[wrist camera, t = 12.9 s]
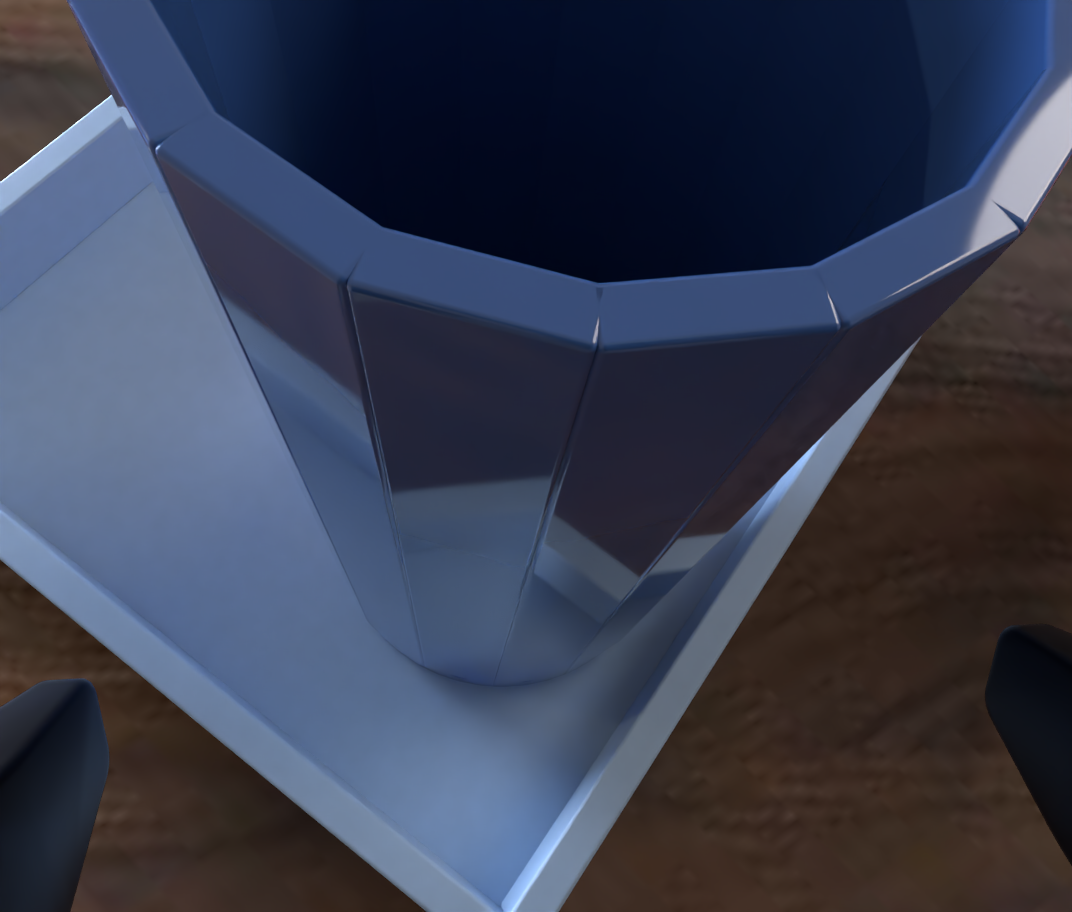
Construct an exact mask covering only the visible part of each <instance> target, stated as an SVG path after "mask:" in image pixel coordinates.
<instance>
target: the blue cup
mask: <svg viewBox="0 0 1072 912" xmlns="http://www.w3.org/2000/svg"><path fill="white" fill-rule="evenodd" d="M67 3H68V5H69V7H70V9H71V11H72V13H73V15H74V17H75V19H76V21H77V23H78V25H79V28H80V30H81V32H82V34H83V36H84V38H85V40H86V42H87V44H88V46H89V48H90V50H91V53H92V55H93V57H94V59H95V61H96V63H97V65H98V67H99V69H100V71H101V73H102V76H103V78H104V80H105V82H106V84H107V86H108V88H109V90H110V92H111V94H112V96H113V98H114V101H115V103H116V105H117V107H118V109H119V111H120V113H121V115H122V117H123V119H124V121H125V123H126V126H127V128H128V130H129V132H130V134H131V136H132V138H133V140H134V142H135V144H136V146H137V149H138V151H139V153H140V155H141V157H142V159H143V161H144V163H145V165H146V167H147V169H148V171H149V174H150V176H151V178H152V180H153V182H154V184H155V186H156V188H157V190H158V192H159V194H160V196H161V199H162V201H163V203H164V205H165V207H166V209H167V211H168V213H169V215H170V217H171V219H172V222H173V224H174V226H175V228H176V230H177V232H178V234H179V236H180V238H181V240H182V242H183V244H184V247H185V249H186V251H187V253H188V255H189V257H190V259H191V261H192V263H193V265H194V267H195V270H196V272H197V274H198V276H199V278H200V280H201V282H202V284H203V286H204V288H205V290H206V292H207V295H208V297H209V299H210V301H211V303H212V305H213V307H214V309H215V311H216V313H217V315H218V317H219V320H220V322H221V324H222V326H223V328H224V330H225V332H226V334H227V336H228V338H229V340H230V343H231V345H232V347H233V349H234V351H235V353H236V355H237V357H238V359H239V361H240V363H241V365H242V368H243V370H244V372H245V374H246V376H247V378H248V380H249V382H250V384H251V386H252V388H253V390H254V393H255V395H256V397H257V399H258V401H259V403H260V405H261V407H262V409H263V411H264V413H265V416H266V418H267V420H268V422H269V424H270V426H271V428H272V430H273V432H274V434H275V436H276V438H277V441H278V443H279V445H280V447H281V449H282V451H283V453H284V455H285V457H286V459H287V461H288V464H289V466H290V468H291V470H292V472H293V474H294V476H295V478H296V480H297V482H298V484H299V486H300V489H301V491H302V493H303V495H304V497H305V499H306V501H307V503H308V505H309V507H310V509H311V511H312V514H313V516H314V518H315V520H316V522H317V524H318V526H319V528H320V530H321V532H322V534H323V537H324V539H325V541H326V543H327V545H328V547H329V549H330V551H331V553H332V555H333V557H334V559H335V562H336V564H337V566H338V568H339V570H340V571H341V573H342V575H343V577H344V579H345V581H346V583H347V585H348V586H349V588H350V590H351V592H352V594H353V596H354V598H355V600H356V602H357V604H358V605H359V607H360V609H361V611H362V613H363V614H364V616H365V618H366V620H367V622H368V623H370V625H371V626H372V627H373V628H374V629H376V630H377V631H378V633H379V634H380V635H381V636H382V637H383V638H384V639H385V640H386V641H387V642H388V643H390V644H391V645H392V646H393V647H394V648H395V649H396V650H397V651H398V652H400V653H401V654H403V655H404V656H406V657H407V658H409V659H410V660H412V661H413V662H415V663H416V664H418V665H420V666H422V667H424V668H426V669H428V670H430V671H432V672H434V673H436V674H438V675H441V676H444V677H447V678H450V679H453V680H456V681H459V682H465V683H470V684H475V685H480V686H495V687H510V686H523V685H530V684H534V683H539V682H544V681H548V680H551V679H554V678H556V677H559V676H562V675H566V674H568V673H570V672H572V671H574V670H576V669H578V668H579V667H581V666H583V665H585V664H587V663H589V662H590V661H592V660H593V659H595V658H596V657H597V656H599V655H600V654H602V653H603V652H604V651H606V650H607V649H608V648H610V647H611V646H613V645H615V644H616V643H618V642H620V641H621V640H622V639H623V638H624V637H625V636H626V635H627V634H628V633H629V632H630V631H631V630H632V629H633V628H634V627H635V626H636V625H637V624H638V623H639V622H640V621H641V620H642V619H643V618H644V617H645V616H646V615H647V614H648V613H649V612H650V611H651V610H652V608H653V607H654V606H655V605H656V604H657V603H658V602H659V601H660V600H661V599H662V598H663V597H664V596H665V595H666V594H667V593H668V592H669V591H670V590H671V589H672V588H673V587H674V586H675V585H676V584H677V583H678V582H679V581H680V580H681V579H682V578H683V577H684V576H685V575H686V574H687V573H688V572H689V571H690V570H691V569H692V568H693V567H694V566H695V565H696V564H697V563H698V562H699V561H700V560H701V559H702V558H703V557H704V556H705V555H706V554H707V553H708V552H709V551H710V550H711V549H712V548H713V547H714V546H715V545H716V544H717V543H718V542H719V541H720V540H721V539H722V537H723V536H724V535H725V534H726V533H727V532H728V531H729V530H730V529H731V528H732V527H733V526H734V525H735V524H736V523H737V522H738V521H739V520H740V519H741V518H742V517H743V516H744V515H745V514H746V513H747V512H748V511H749V510H750V509H751V508H752V507H753V506H754V505H755V504H756V503H757V502H758V501H759V500H760V499H761V498H762V497H763V496H764V495H765V494H766V493H767V492H768V491H769V490H770V489H771V488H772V487H773V486H774V485H775V484H776V483H777V482H778V481H779V480H780V479H781V478H782V477H783V476H784V475H785V474H786V473H787V472H788V471H789V470H790V469H791V467H792V466H793V465H794V464H795V463H796V462H797V461H798V460H799V459H800V458H801V457H802V456H803V455H804V454H805V453H806V452H807V451H808V450H809V449H810V448H811V447H812V446H813V445H814V444H815V443H816V442H817V441H818V440H819V439H820V438H821V437H822V436H823V435H824V434H825V433H826V432H827V431H828V430H829V429H830V428H831V427H832V426H833V425H834V424H835V423H836V422H837V421H838V420H839V419H840V418H841V417H842V416H843V415H844V414H845V413H846V412H847V411H848V410H849V409H850V408H851V407H852V406H853V405H854V404H855V403H856V402H857V401H858V400H859V399H860V398H861V396H862V395H863V394H864V393H865V392H866V391H867V390H868V389H869V388H870V387H871V386H872V385H873V384H874V383H875V382H876V381H877V380H878V379H879V378H880V377H881V376H882V375H883V374H884V373H885V372H886V371H887V370H888V369H889V368H890V367H891V366H892V365H893V364H894V363H895V362H896V361H897V360H898V359H899V358H900V357H901V356H902V355H903V354H904V353H905V352H906V351H907V350H908V349H909V348H910V347H911V346H912V345H913V344H914V343H915V342H916V341H917V340H918V339H919V338H920V337H921V336H922V335H923V334H924V333H925V332H926V331H927V330H928V329H929V328H930V327H931V325H932V324H933V323H934V322H935V321H936V320H937V319H938V318H939V317H940V316H941V315H942V314H943V313H944V312H945V311H946V310H947V309H948V308H949V307H950V306H951V305H952V304H953V303H954V302H955V301H956V300H957V299H958V298H959V297H960V296H961V295H962V294H963V293H964V292H965V291H966V290H967V289H968V288H969V287H970V286H971V285H972V284H973V283H974V282H975V281H976V280H977V279H978V278H979V277H980V276H981V275H982V274H983V273H984V272H985V271H986V270H987V269H988V268H989V267H990V266H991V265H992V264H993V263H994V262H995V261H996V260H997V259H998V258H999V257H1000V256H1001V254H1002V253H1003V252H1004V251H1005V250H1006V249H1007V248H1008V247H1009V246H1010V245H1011V244H1012V243H1013V242H1014V241H1015V240H1016V239H1017V238H1018V237H1019V236H1020V235H1021V234H1022V233H1023V232H1024V231H1025V230H1026V229H1027V227H1028V226H1029V224H1030V222H1031V221H1032V219H1033V218H1034V216H1035V214H1036V213H1037V211H1038V210H1039V208H1040V206H1041V205H1042V203H1043V202H1044V200H1045V198H1046V197H1047V195H1048V194H1049V192H1050V190H1051V189H1052V187H1053V186H1054V184H1055V182H1056V181H1057V179H1058V178H1059V176H1060V174H1061V173H1062V171H1063V170H1064V168H1065V166H1066V165H1067V163H1068V161H1069V160H1070V158H1071V157H1072V0H67Z"/></svg>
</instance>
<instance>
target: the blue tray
mask: <svg viewBox="0 0 1072 912" xmlns="http://www.w3.org/2000/svg"><path fill="white" fill-rule="evenodd" d="M920 338H921V337H920ZM920 338H919V339H920ZM919 339H918V340H917V341H916V342H915V343H914V344H913V345H912V346H911V347H910V348H909V349H908V350H907V351H906V352H905V353H904V354H903V355H902V356H901V357H900V358H899V359H898V360H897V361H896V362H895V363H894V364H893V365H892V366H891V367H890V368H889V369H888V370H887V371H886V372H885V373H884V374H883V375H882V376H881V377H880V378H879V379H878V380H877V381H876V382H875V383H874V384H873V385H872V386H871V387H870V388H869V389H868V390H867V391H866V392H865V393H864V394H863V395H862V396H861V398H860V399H859V400H858V401H857V402H856V403H855V404H854V405H853V406H852V407H851V408H850V409H849V410H848V411H847V412H846V413H845V414H844V415H843V416H842V417H841V418H840V419H839V420H838V421H837V422H836V423H835V424H834V425H833V426H832V427H831V428H830V429H829V430H828V431H827V432H826V433H825V434H824V435H823V436H822V437H821V438H820V439H819V440H818V441H817V442H816V443H815V444H814V445H813V446H812V447H811V448H810V449H809V450H808V451H807V452H806V453H805V454H804V455H803V456H802V457H801V458H800V459H799V460H798V461H797V462H796V463H795V464H794V465H793V466H792V467H791V469H790V470H789V471H788V472H787V473H786V474H785V475H784V476H783V477H782V478H781V479H780V480H779V481H778V482H777V483H776V484H775V485H774V486H773V487H772V488H771V489H770V490H769V491H768V492H767V493H766V494H765V495H764V496H763V497H762V498H761V499H760V500H759V501H758V502H757V503H756V504H755V505H754V506H753V507H752V508H751V509H750V510H749V511H748V512H747V513H746V514H745V515H744V516H743V517H742V518H741V519H740V520H739V521H738V522H737V523H736V524H735V525H734V526H733V527H732V528H731V529H730V530H729V531H728V532H727V533H726V534H725V535H724V536H723V537H722V539H721V540H720V541H719V542H718V543H717V544H716V545H715V546H714V547H713V548H712V549H711V550H710V551H709V552H708V553H707V554H706V555H705V556H704V557H703V558H702V559H701V560H700V561H699V562H698V563H697V564H696V565H695V566H694V567H693V568H692V569H691V570H690V571H689V572H688V573H687V574H686V575H685V576H684V577H683V578H682V579H681V580H680V581H679V582H678V583H677V584H676V585H675V586H674V587H673V588H672V589H671V590H670V591H669V592H668V593H667V594H666V595H665V596H664V597H663V598H662V599H661V600H660V601H659V602H658V603H657V604H656V605H655V606H654V607H653V608H652V610H651V611H650V612H649V613H648V614H647V615H646V616H645V617H644V618H643V619H642V620H641V621H640V622H639V623H638V624H637V625H636V626H635V627H634V628H633V629H632V630H631V631H630V632H629V633H628V634H627V635H626V636H625V637H624V638H623V639H622V640H621V641H620V642H618V643H616V644H615V645H613V646H611V647H610V648H608V649H607V650H606V651H604V652H603V653H602V654H600V655H599V656H597V657H596V658H595V659H593V660H592V661H590V662H589V663H587V664H585V665H583V666H581V667H579V668H578V669H576V670H574V671H572V672H570V673H568V674H566V675H562V676H559V677H556V678H554V679H551V680H548V681H544V682H539V683H534V684H530V685H523V686H510V687H495V686H480V685H475V684H470V683H465V682H459V681H456V680H453V679H450V678H447V677H444V676H441V675H438V674H436V673H434V672H432V671H430V670H428V669H426V668H424V667H422V666H420V665H418V664H416V663H415V662H413V661H412V660H410V659H409V658H407V657H406V656H404V655H403V654H401V653H400V652H398V651H397V650H396V649H395V648H394V647H393V646H392V645H391V644H390V643H388V642H387V641H386V640H385V639H384V638H383V637H382V636H381V635H380V634H379V633H378V631H377V630H376V629H374V628H373V627H372V626H371V625H370V623H368V622H367V620H366V618H365V616H364V614H363V613H362V611H361V609H360V607H359V605H358V604H357V602H356V600H355V598H354V596H353V594H352V592H351V590H350V588H349V586H348V585H347V583H346V581H345V579H344V577H343V575H342V573H341V571H340V570H339V568H338V566H337V564H336V562H335V559H334V557H333V555H332V553H331V551H330V549H329V547H328V545H327V543H326V541H325V539H324V537H323V534H322V532H321V530H320V528H319V526H318V524H317V522H316V520H315V518H314V516H313V514H312V511H311V509H310V507H309V505H308V503H307V501H306V499H305V497H304V495H303V493H302V491H301V489H300V486H299V484H298V482H297V480H296V478H295V476H294V474H293V472H292V470H291V468H290V466H289V464H288V461H287V459H286V457H285V455H284V453H283V451H282V449H281V447H280V445H279V443H278V441H277V438H276V436H275V434H274V432H273V430H272V428H271V426H270V424H269V422H268V420H267V418H266V416H265V413H264V411H263V409H262V407H261V405H260V403H259V401H258V399H257V397H256V395H255V393H254V390H253V388H252V386H251V384H250V382H249V380H248V378H247V376H246V374H245V372H244V370H243V368H242V365H241V363H240V361H239V359H238V357H237V355H236V353H235V351H234V349H233V347H232V345H231V343H230V340H229V338H228V336H227V334H226V332H225V330H224V328H223V326H222V324H221V322H220V320H219V317H218V315H217V313H216V311H215V309H214V307H213V305H212V303H211V301H210V299H209V297H208V295H207V292H206V290H205V288H204V286H203V284H202V282H201V280H200V278H199V276H198V274H197V272H196V270H195V267H194V265H193V263H192V261H191V259H190V257H189V255H188V253H187V251H186V249H185V247H184V244H183V242H182V240H181V238H180V236H179V234H178V232H177V230H176V228H175V226H174V224H173V222H172V219H171V217H170V215H169V213H168V211H167V209H166V207H165V205H164V203H163V201H162V199H161V196H160V194H159V192H158V190H157V188H156V186H155V184H154V182H153V180H152V178H151V176H150V174H149V171H148V169H147V167H146V165H145V163H144V161H143V159H142V157H141V155H140V153H139V151H138V149H137V146H136V144H135V142H134V140H133V138H132V136H131V134H130V132H129V130H128V128H127V126H126V123H125V121H124V119H123V117H122V115H121V113H120V111H119V109H118V107H117V105H116V103H115V101H114V98H113V96H112V95H111V96H110V97H109V98H107V99H106V100H105V101H104V102H102V103H101V104H100V105H98V106H97V107H96V108H95V109H93V110H92V111H91V112H90V113H88V114H87V115H86V116H84V117H83V118H82V119H81V120H79V121H78V122H77V123H76V124H74V125H73V126H72V127H70V128H69V129H68V130H67V131H65V132H64V133H63V134H61V135H60V136H59V137H58V138H56V139H55V140H54V141H53V142H51V143H50V144H49V145H47V146H46V147H45V148H44V149H42V150H41V151H40V152H39V153H37V154H36V155H35V156H33V157H32V158H31V159H30V160H28V161H27V162H26V163H24V164H23V165H22V166H21V167H19V168H18V169H17V170H16V171H14V172H13V173H12V174H10V175H9V176H8V177H7V178H5V179H4V180H3V181H2V182H0V560H1V561H2V562H4V563H5V564H6V565H7V566H8V567H10V568H11V569H12V570H13V571H14V572H16V573H17V574H18V575H19V576H20V577H22V578H23V579H24V580H25V581H27V582H28V583H29V584H30V585H31V586H33V587H34V588H35V589H36V590H37V591H39V592H40V593H41V594H42V595H43V596H45V597H46V598H47V599H48V600H50V601H51V602H52V603H53V604H54V605H56V606H57V607H58V608H59V609H60V610H62V611H63V612H64V613H65V614H67V615H68V616H69V617H70V618H71V619H73V620H74V621H75V622H76V623H77V624H79V625H80V626H81V627H82V628H83V629H85V630H86V631H87V632H88V633H90V634H91V635H92V636H93V637H94V638H96V639H97V640H98V641H99V642H100V643H102V644H103V645H104V646H105V647H106V648H108V649H109V650H110V651H111V652H113V653H114V654H115V655H116V656H117V657H119V658H120V659H121V660H122V661H123V662H125V663H126V664H127V665H128V666H130V667H131V668H132V669H133V670H134V671H136V672H137V673H138V674H139V675H140V676H142V677H143V678H144V679H145V680H146V681H148V682H149V683H150V684H151V685H153V686H154V687H155V688H156V689H157V690H159V691H160V692H161V693H162V694H163V695H165V696H166V697H167V698H168V699H169V700H171V701H172V702H173V703H174V704H176V705H177V706H178V707H179V708H180V709H182V710H183V711H184V712H185V713H186V714H188V715H189V716H190V717H191V718H192V719H194V720H195V721H196V722H197V723H199V724H200V725H201V726H202V727H203V728H205V729H206V730H207V731H208V732H209V733H211V734H212V735H213V736H214V737H216V738H217V739H218V740H219V741H220V742H222V743H223V744H224V745H225V746H226V747H228V748H229V749H230V750H231V751H232V752H234V753H235V754H236V755H237V756H239V757H240V758H241V759H242V760H243V761H245V762H246V763H247V764H248V765H249V766H251V767H252V768H253V769H254V770H255V771H257V772H258V773H259V774H260V775H262V776H263V777H264V778H265V779H266V780H268V781H269V782H270V783H271V784H272V785H274V786H275V787H276V788H277V789H279V790H280V791H281V792H282V793H283V794H285V795H286V796H287V797H288V798H289V799H291V800H292V801H293V802H294V803H295V804H297V805H298V806H299V807H300V808H302V809H303V810H304V811H305V812H306V813H308V814H309V815H310V816H311V817H312V818H314V819H315V820H316V821H317V822H318V823H320V824H321V825H322V826H323V827H325V828H326V829H327V830H328V831H329V832H331V833H332V834H333V835H334V836H335V837H337V838H338V839H339V840H340V841H341V842H343V843H344V844H345V845H346V846H348V847H349V848H350V849H351V850H352V851H354V852H355V853H356V854H357V855H358V856H360V857H361V858H362V859H363V860H365V861H366V862H367V863H368V864H369V865H371V866H372V867H373V868H374V869H375V870H377V871H378V872H379V873H380V874H381V875H383V876H384V877H385V878H386V879H388V880H389V881H390V882H391V883H392V884H394V885H395V886H396V887H397V888H398V889H400V890H401V891H402V892H403V893H404V894H406V895H407V896H408V897H409V898H411V899H412V900H413V901H414V902H415V903H417V904H418V905H419V906H420V907H421V908H423V909H424V910H425V911H426V912H559V911H560V909H561V907H562V906H563V904H564V903H565V901H566V899H567V898H568V896H569V895H570V893H571V891H572V890H573V888H574V887H575V885H576V884H577V882H578V880H579V879H580V877H581V876H582V874H583V872H584V871H585V869H586V868H587V866H588V865H589V863H590V861H591V860H592V858H593V857H594V855H595V853H596V852H597V850H598V849H599V847H600V845H601V844H602V842H603V841H604V839H605V838H606V836H607V834H608V833H609V831H610V830H611V828H612V826H613V825H614V823H615V822H616V820H617V819H618V817H619V815H620V814H621V812H622V811H623V809H624V807H625V806H626V804H627V803H628V801H629V799H630V798H631V796H632V795H633V793H634V792H635V790H636V788H637V787H638V785H639V784H640V782H641V780H642V779H643V777H644V776H645V774H646V772H647V771H648V769H649V768H650V766H651V765H652V763H653V761H654V760H655V758H656V757H657V755H658V753H659V752H660V750H661V749H662V747H663V746H664V744H665V742H666V741H667V739H668V738H669V736H670V734H671V733H672V731H673V730H674V728H675V726H676V725H677V723H678V722H679V720H680V719H681V717H682V715H683V714H684V712H685V711H686V709H687V707H688V706H689V704H690V703H691V701H692V700H693V698H694V696H695V695H696V693H697V692H698V690H699V688H700V687H701V685H702V684H703V682H704V680H705V679H706V677H707V676H708V674H709V673H710V671H711V669H712V668H713V666H714V665H715V663H716V661H717V660H718V658H719V657H720V655H721V654H722V652H723V650H724V649H725V647H726V646H727V644H728V642H729V641H730V639H731V638H732V636H733V634H734V633H735V631H736V630H737V628H738V627H739V625H740V623H741V622H742V620H743V619H744V617H745V615H746V614H747V612H748V611H749V609H750V607H751V606H752V604H753V603H754V601H755V600H756V598H757V596H758V595H759V593H760V592H761V590H762V588H763V587H764V585H765V584H766V582H767V581H768V579H769V577H770V576H771V574H772V573H773V571H774V569H775V568H776V566H777V565H778V563H779V561H780V560H781V558H782V557H783V555H784V554H785V552H786V550H787V549H788V547H789V546H790V544H791V542H792V541H793V539H794V538H795V536H796V535H797V533H798V531H799V530H800V528H801V527H802V525H803V523H804V522H805V520H806V519H807V517H808V515H809V514H810V512H811V511H812V509H813V508H814V506H815V504H816V503H817V501H818V500H819V498H820V496H821V495H822V493H823V492H824V490H825V489H826V487H827V485H828V484H829V482H830V481H831V479H832V477H833V476H834V474H835V473H836V471H837V469H838V468H839V466H840V465H841V463H842V462H843V460H844V458H845V457H846V455H847V454H848V452H849V450H850V449H851V447H852V446H853V444H854V443H855V441H856V439H857V438H858V436H859V435H860V433H861V431H862V430H863V428H864V427H865V425H866V423H867V422H868V420H869V419H870V417H871V416H872V414H873V412H874V411H875V409H876V408H877V406H878V404H879V403H880V401H881V400H882V398H883V396H884V395H885V393H886V392H887V390H888V389H889V387H890V385H891V384H892V382H893V381H894V379H895V377H896V376H897V374H898V373H899V371H900V370H901V368H902V366H903V365H904V363H905V362H906V360H907V358H908V357H909V355H910V354H911V352H912V350H913V349H914V347H915V346H916V344H917V343H918V341H919Z"/></svg>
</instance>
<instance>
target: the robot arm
mask: <svg viewBox="0 0 1072 912" xmlns="http://www.w3.org/2000/svg"><path fill="white" fill-rule="evenodd" d="M985 701H986V707H987V710H988V713H989V716H990V718H991V720H992V722H993V724H994V725H995V727H996V729H997V731H998V733H999V735H1000V737H1001V739H1002V740H1003V742H1004V744H1005V746H1006V748H1007V750H1008V752H1009V754H1010V755H1011V757H1012V759H1013V761H1014V763H1015V765H1016V767H1017V769H1018V770H1019V772H1020V774H1021V776H1022V778H1023V780H1024V782H1025V784H1026V786H1027V787H1028V789H1029V791H1030V793H1031V795H1032V797H1033V799H1034V801H1035V802H1036V804H1037V806H1038V808H1039V810H1040V812H1041V814H1042V816H1043V817H1044V819H1045V821H1046V823H1047V825H1048V827H1049V828H1050V830H1051V832H1052V834H1053V836H1054V837H1055V839H1056V841H1057V843H1058V844H1059V846H1060V848H1061V849H1062V851H1063V853H1064V854H1065V856H1066V857H1067V859H1068V861H1069V862H1070V864H1071V865H1072V634H1071V633H1069V632H1066V631H1064V630H1061V629H1059V628H1056V627H1054V626H1051V625H1048V624H1027V625H1012V626H1009V627H1007V628H1005V629H1004V630H1003V631H1002V633H1001V634H1000V636H999V638H998V642H997V646H996V650H995V654H994V657H993V661H992V665H991V669H990V673H989V677H988V681H987V685H986V690H985ZM108 768H109V748H108V743H107V738H106V734H105V729H104V725H103V720H102V716H101V712H100V707H99V703H98V698H97V694H96V691H95V688H94V686H93V685H92V683H91V682H89V681H88V680H86V679H83V678H80V679H62V680H46V681H42V682H40V683H38V684H36V685H34V686H33V687H31V688H30V689H28V690H27V691H25V692H23V693H22V694H20V695H19V696H17V697H16V698H14V699H13V700H11V701H9V702H8V703H6V704H5V705H3V706H2V707H0V912H70V911H71V907H72V904H73V900H74V896H75V893H76V889H77V885H78V882H79V878H80V874H81V871H82V867H83V863H84V860H85V856H86V852H87V849H88V845H89V841H90V837H91V834H92V830H93V826H94V823H95V819H96V815H97V812H98V808H99V804H100V801H101V797H102V793H103V790H104V786H105V782H106V779H107V774H108Z"/></svg>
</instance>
